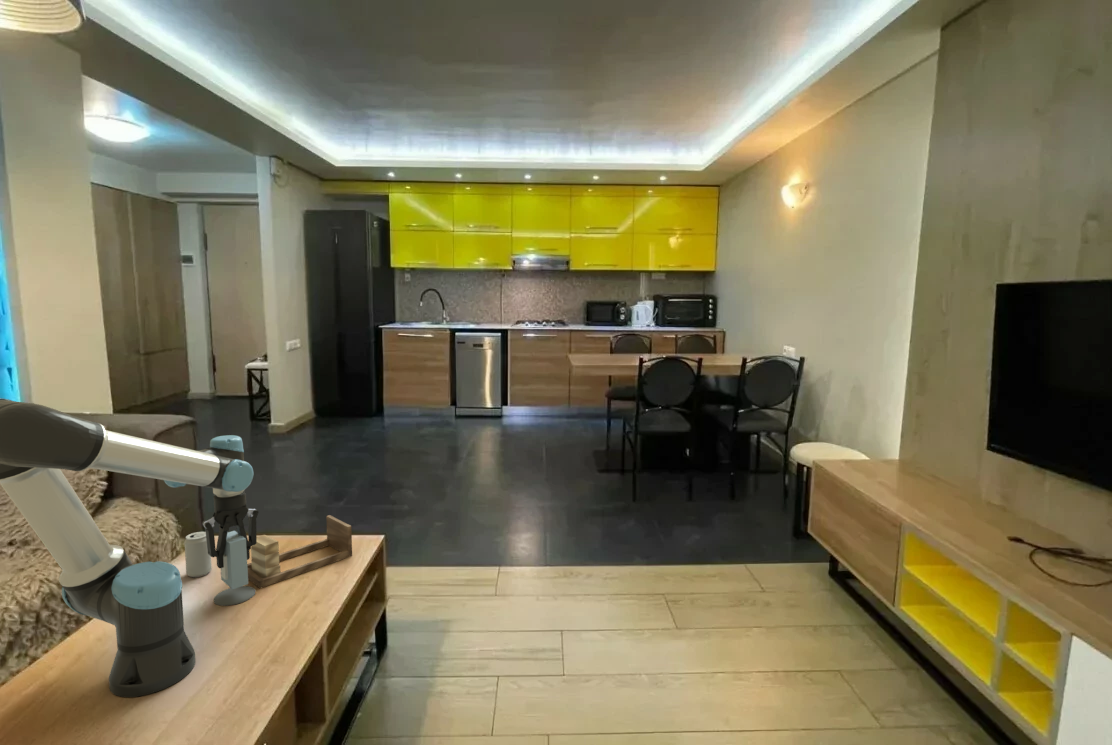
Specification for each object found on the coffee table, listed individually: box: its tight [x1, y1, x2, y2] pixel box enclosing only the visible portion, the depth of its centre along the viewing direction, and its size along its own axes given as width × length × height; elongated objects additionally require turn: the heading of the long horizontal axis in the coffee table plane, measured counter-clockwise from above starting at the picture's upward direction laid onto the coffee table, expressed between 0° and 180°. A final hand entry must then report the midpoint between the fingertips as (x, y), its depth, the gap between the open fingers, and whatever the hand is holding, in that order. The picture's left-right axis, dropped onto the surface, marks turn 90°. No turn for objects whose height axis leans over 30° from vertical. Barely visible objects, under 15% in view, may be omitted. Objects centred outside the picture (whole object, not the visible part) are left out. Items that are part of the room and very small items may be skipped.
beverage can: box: [184, 531, 212, 578], centre depth 164 cm, size 6×6×12 cm
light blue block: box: [220, 530, 249, 589], centre depth 151 cm, size 4×8×13 cm, turn 50°
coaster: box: [213, 585, 256, 607], centre depth 152 cm, size 10×10×1 cm
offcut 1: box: [250, 534, 280, 556], centre depth 163 cm, size 4×8×3 cm, turn 55°
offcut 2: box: [250, 549, 280, 570], centre depth 164 cm, size 4×9×4 cm, turn 52°
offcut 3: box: [251, 559, 282, 579], centre depth 164 cm, size 4×10×4 cm, turn 51°
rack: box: [247, 514, 353, 589], centre depth 171 cm, size 28×14×10 cm, turn 140°
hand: (234, 574), depth 151 cm, fingers closed on light blue block, 4 cm apart
